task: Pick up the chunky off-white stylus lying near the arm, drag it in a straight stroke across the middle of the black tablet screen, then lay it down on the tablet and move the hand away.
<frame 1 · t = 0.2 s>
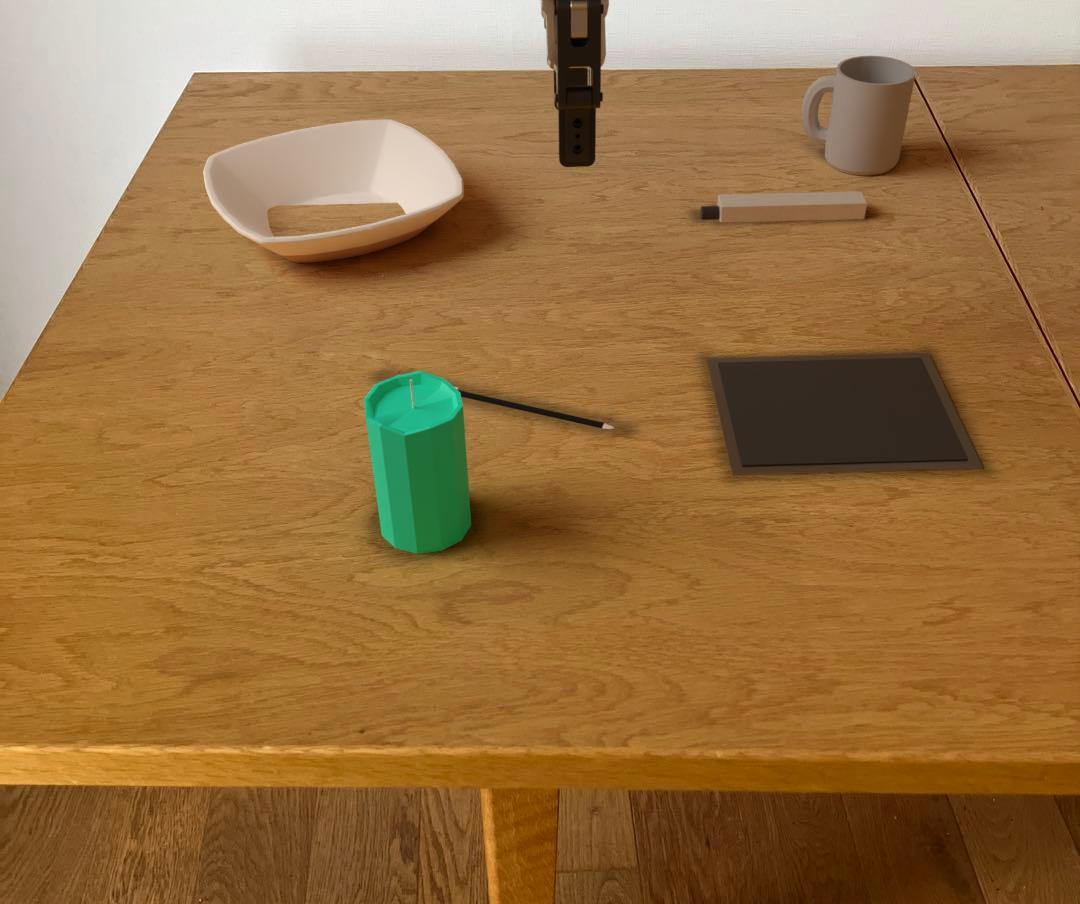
hand: (573, 135, 77), 20 cm above the table, tool pointing down, fingers open, 8 cm apart
black pencil: (503, 413, 88), on the table
candle: (426, 534, 78), on the table
stylus: (788, 223, 109), on the table
bowl: (339, 230, 109), on the table
tablet: (834, 420, 87), on the table
cup: (846, 160, 119), on the table
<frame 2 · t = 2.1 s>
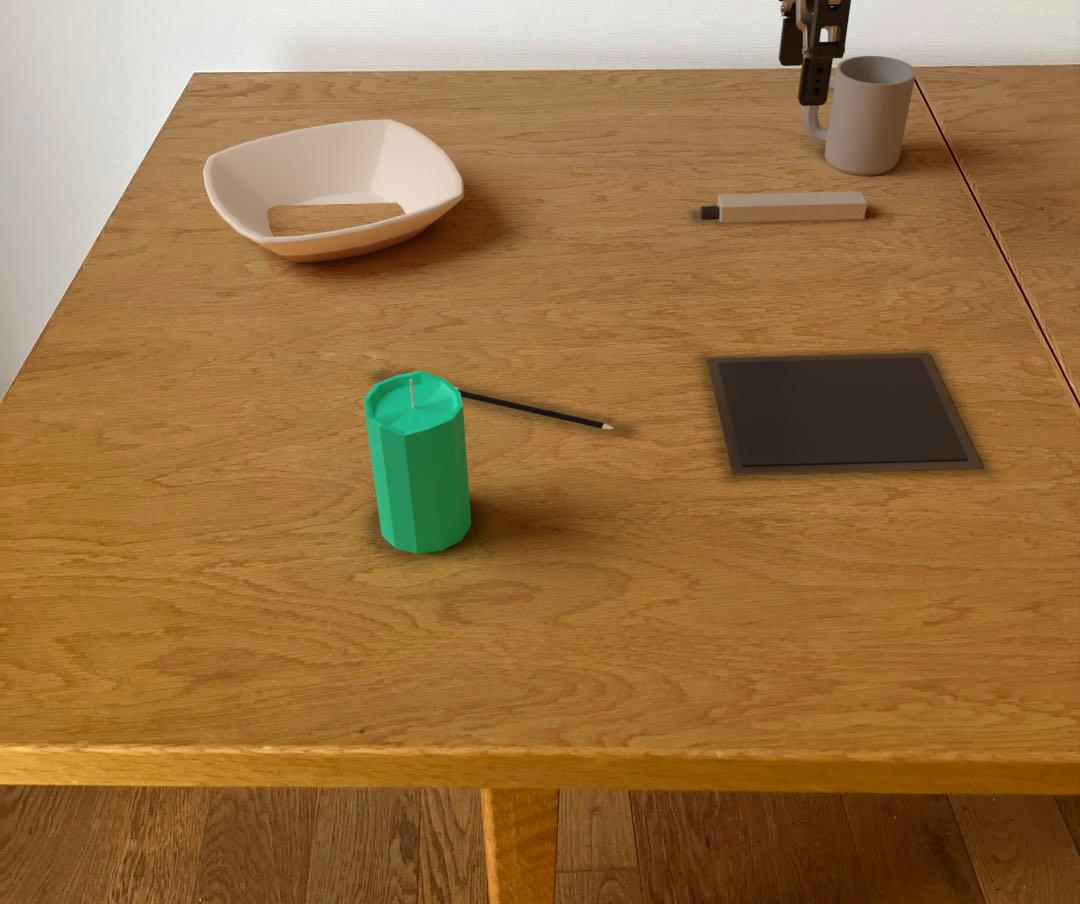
hand: (801, 83, 99), 13 cm above the table, tool pointing down, fingers open, 8 cm apart
nothing on the table moved.
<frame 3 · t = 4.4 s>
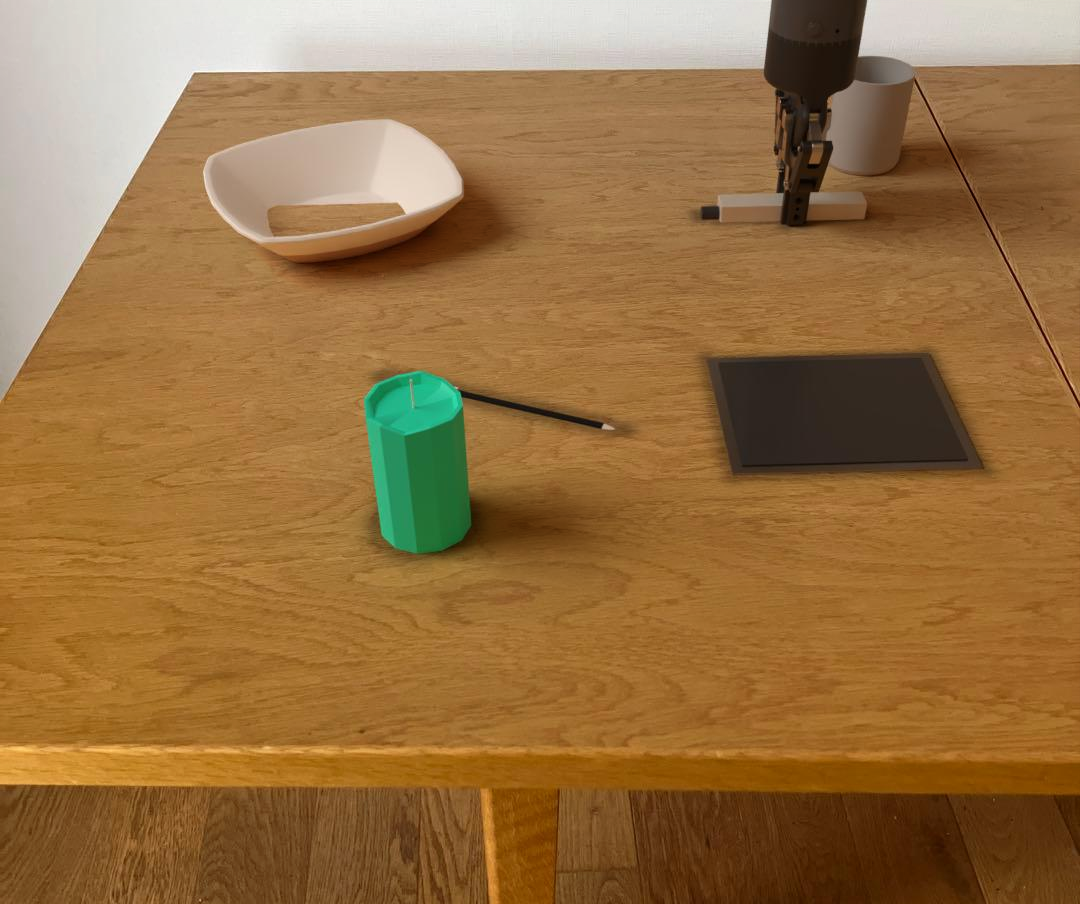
hand: (789, 218, 109), 0 cm above the table, tool pointing down, fingers closed on stylus, 2 cm apart
stylus: (788, 223, 109), on the table, touching gripper
everything else where it was.
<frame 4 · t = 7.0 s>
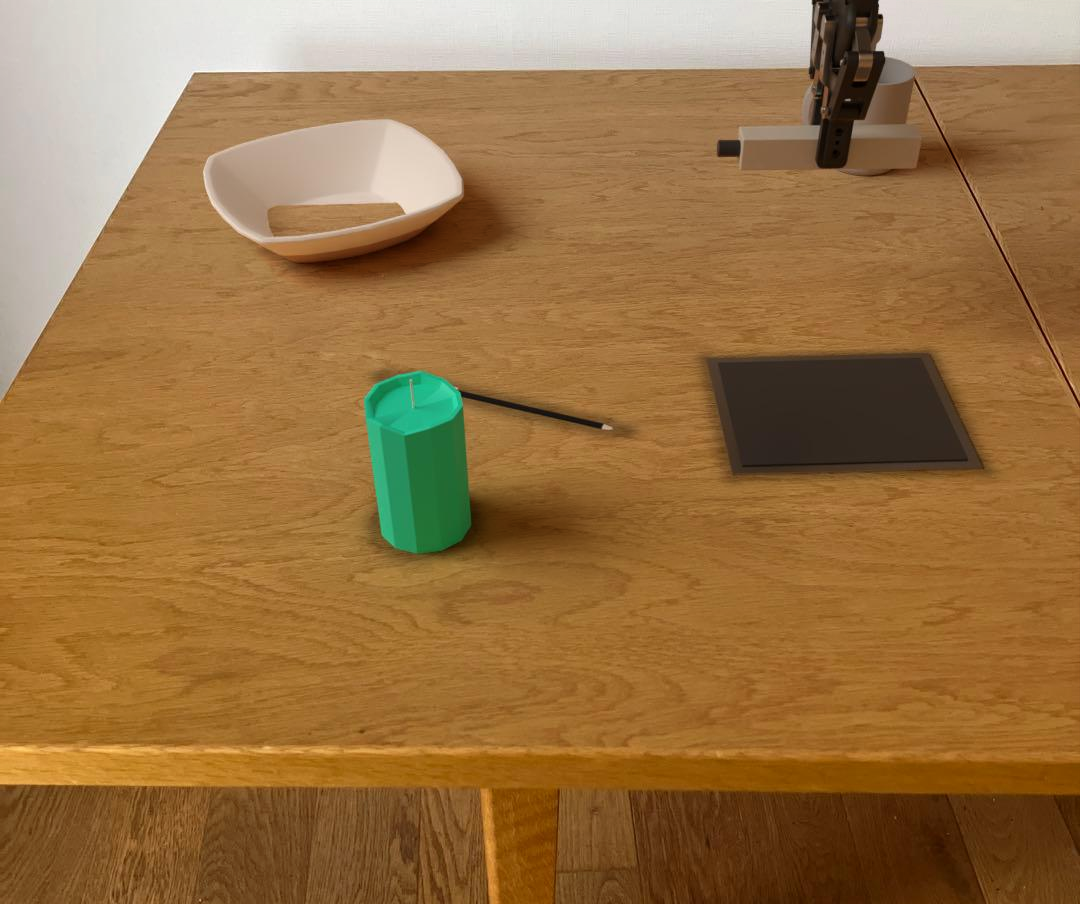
hand: (826, 156, 89), 13 cm above the table, tool pointing down, fingers closed on stylus, 2 cm apart
stylus: (825, 162, 89), point 13 cm above the table, touching gripper
everything else where it was.
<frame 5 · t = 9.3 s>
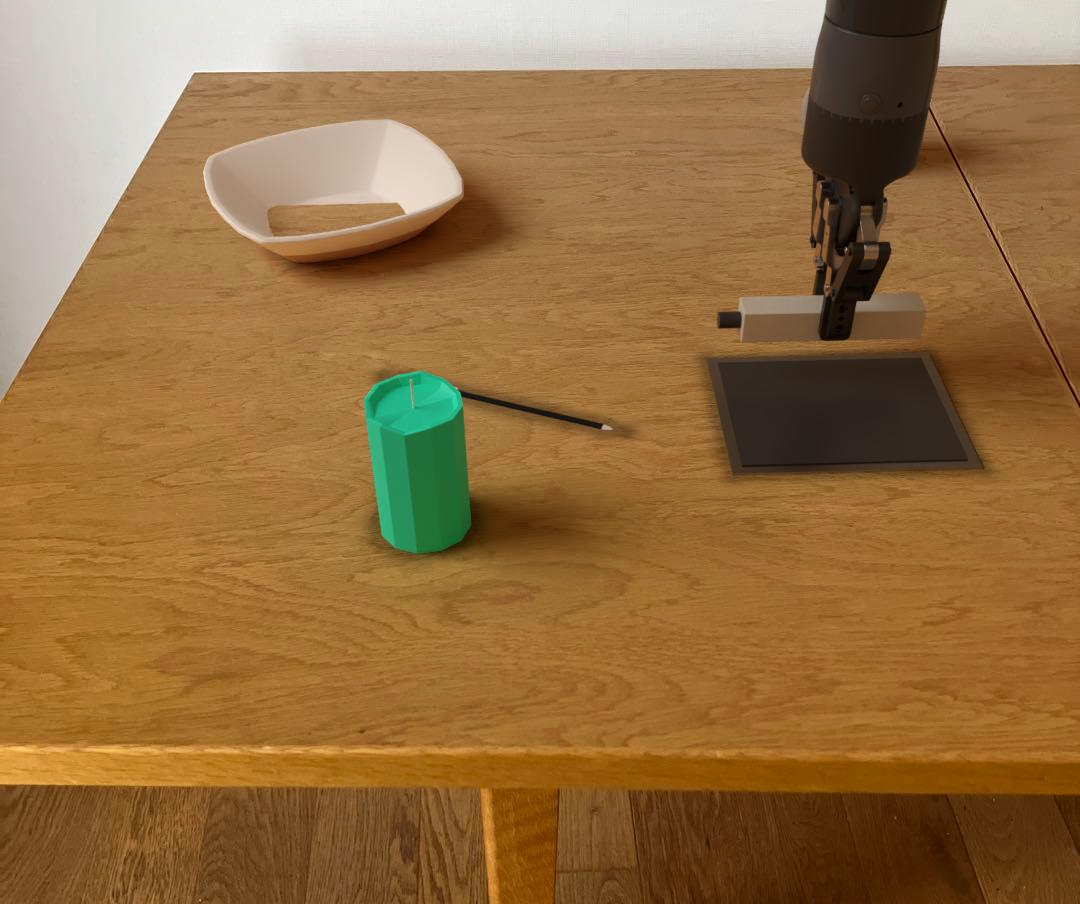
hand: (829, 326, 87), 5 cm above the table, tool pointing down, fingers closed on stylus, 2 cm apart
stylus: (827, 331, 87), point 4 cm above the table, touching gripper
everything else where it was.
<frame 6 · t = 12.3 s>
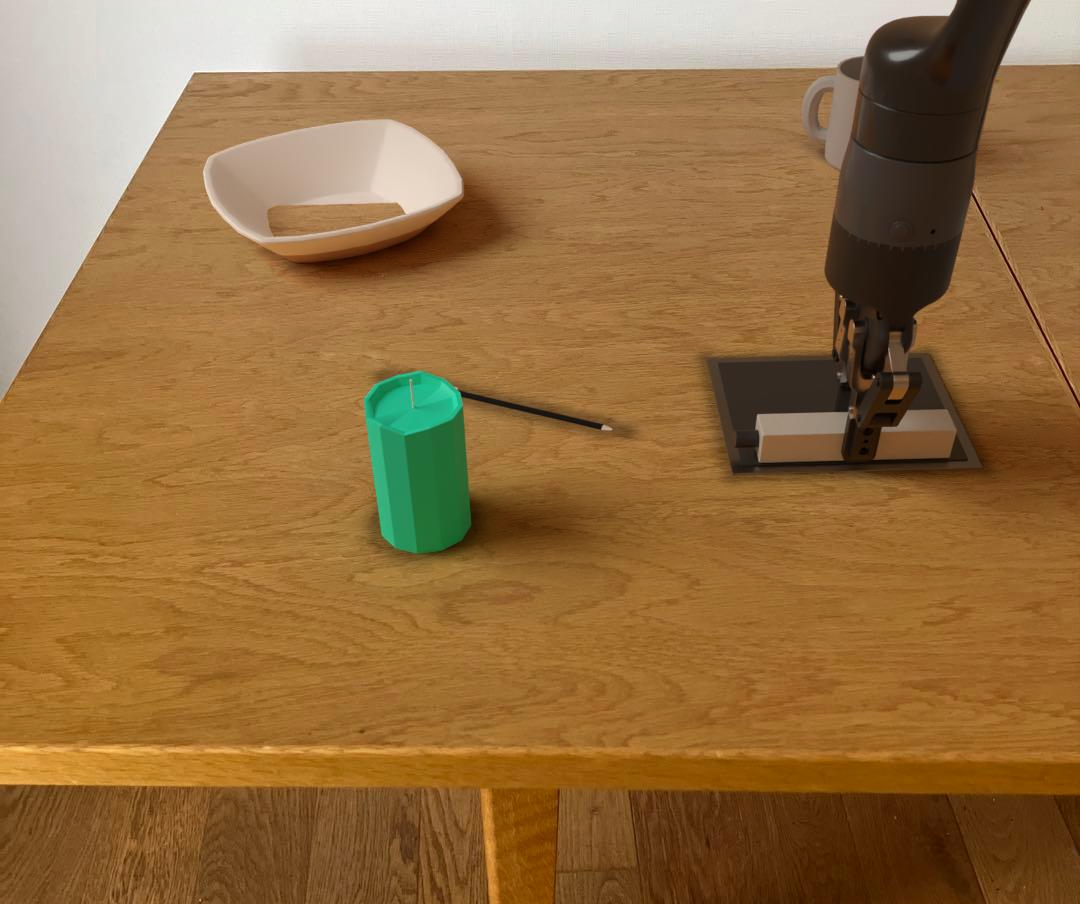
hand: (852, 443, 82), 2 cm above the table, tool pointing down, fingers closed on stylus, 2 cm apart
stylus: (850, 449, 82), point 1 cm above the table, touching gripper
everything else where it was.
when the fingers open (2 cm above the table, at t = 14.5 s): stylus stays where it is, resting on tablet.
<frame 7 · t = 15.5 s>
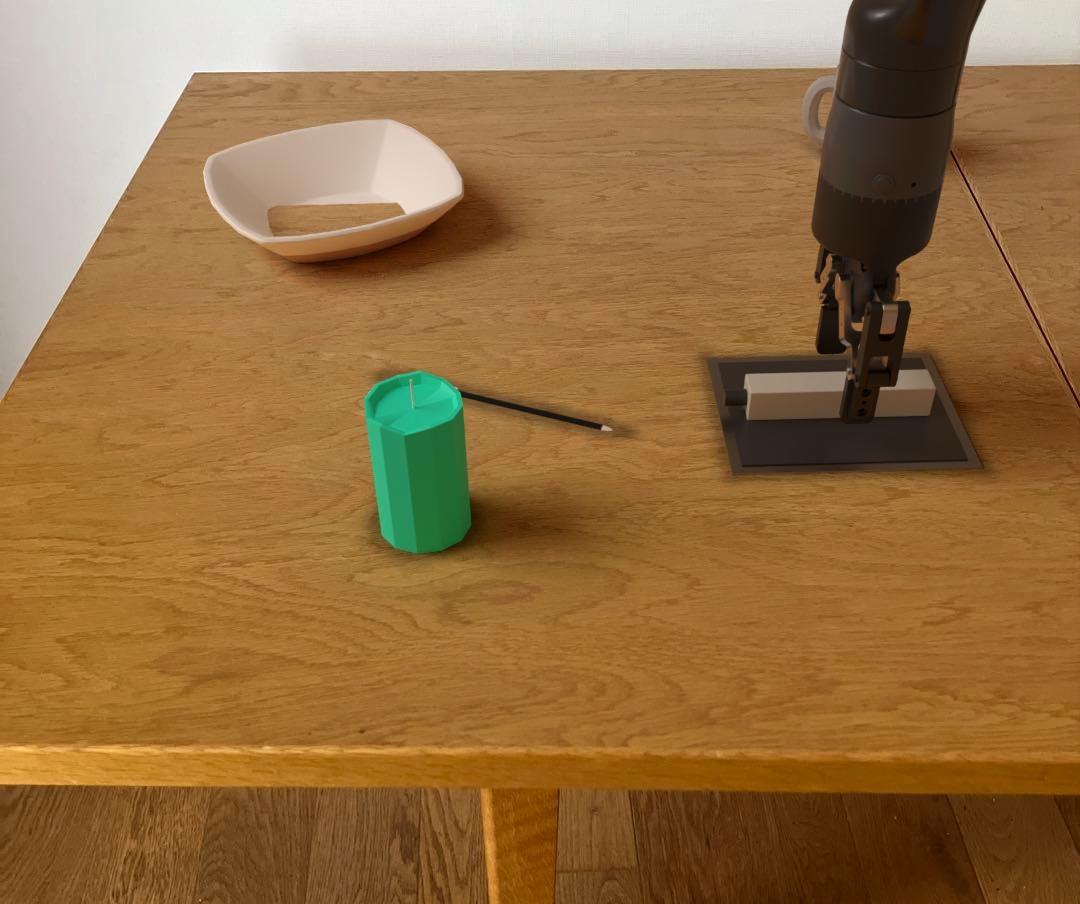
hand: (842, 384, 85), 3 cm above the table, tool pointing down, fingers open, 8 cm apart
stylus: (834, 408, 86), point 1 cm above the table, touching tablet
everything else where it was.
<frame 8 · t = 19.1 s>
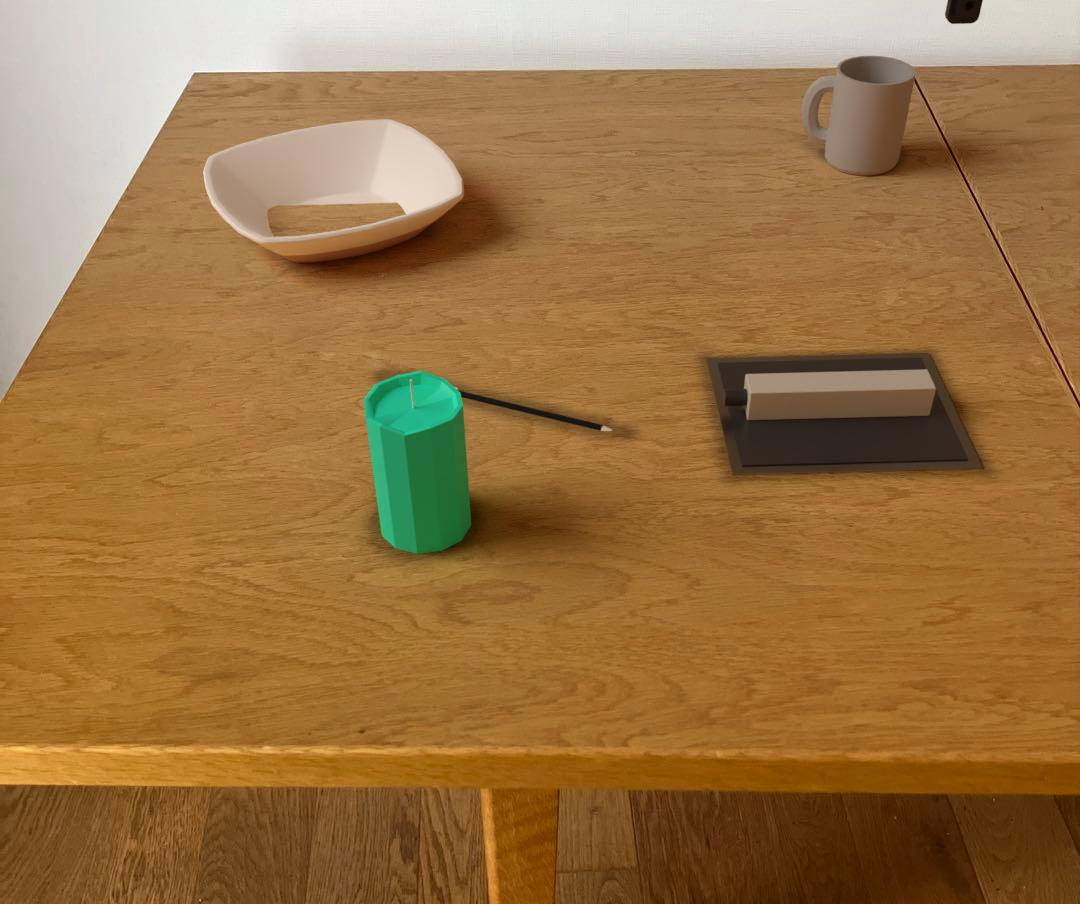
hand: (943, 1, 87), 22 cm above the table, tool pointing down, fingers open, 8 cm apart
nothing on the table moved.
at the end: stylus inside the target area on the tablet (0.1 cm from its centre), point 1.1 cm above the tablet's base; stylus moved 30.1 cm from its start; the gripper is holding nothing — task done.
